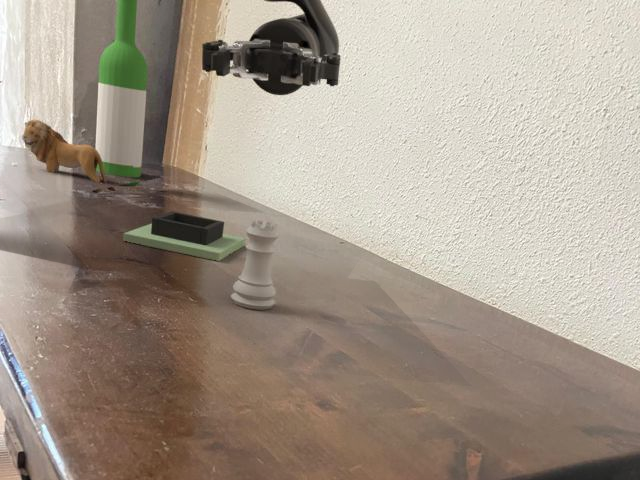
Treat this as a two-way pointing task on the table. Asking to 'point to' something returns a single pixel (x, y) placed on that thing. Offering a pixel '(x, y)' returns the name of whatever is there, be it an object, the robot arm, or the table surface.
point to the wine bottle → (122, 99)
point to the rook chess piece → (257, 269)
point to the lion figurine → (61, 151)
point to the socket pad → (186, 236)
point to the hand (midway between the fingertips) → (263, 69)
